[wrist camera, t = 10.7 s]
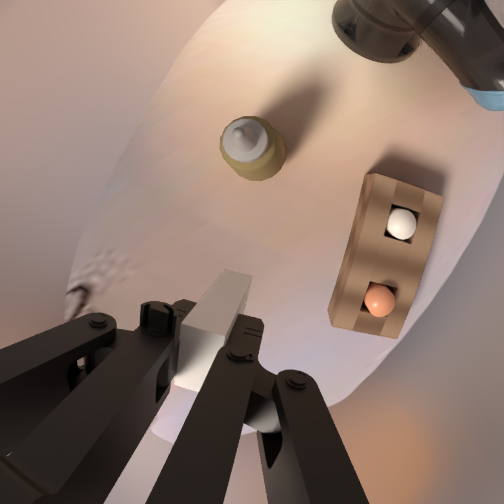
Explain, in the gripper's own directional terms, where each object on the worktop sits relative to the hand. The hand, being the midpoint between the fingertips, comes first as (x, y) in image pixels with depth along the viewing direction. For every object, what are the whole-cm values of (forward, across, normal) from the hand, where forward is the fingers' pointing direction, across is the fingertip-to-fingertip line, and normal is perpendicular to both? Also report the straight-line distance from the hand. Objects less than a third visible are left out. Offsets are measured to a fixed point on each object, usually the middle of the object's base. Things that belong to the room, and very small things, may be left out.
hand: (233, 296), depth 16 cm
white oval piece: (+29, +17, +5) cm, 34 cm away
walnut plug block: (+29, +18, 0) cm, 34 cm away
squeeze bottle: (+30, -4, +10) cm, 32 cm away
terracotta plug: (+28, +18, -5) cm, 33 cm away
